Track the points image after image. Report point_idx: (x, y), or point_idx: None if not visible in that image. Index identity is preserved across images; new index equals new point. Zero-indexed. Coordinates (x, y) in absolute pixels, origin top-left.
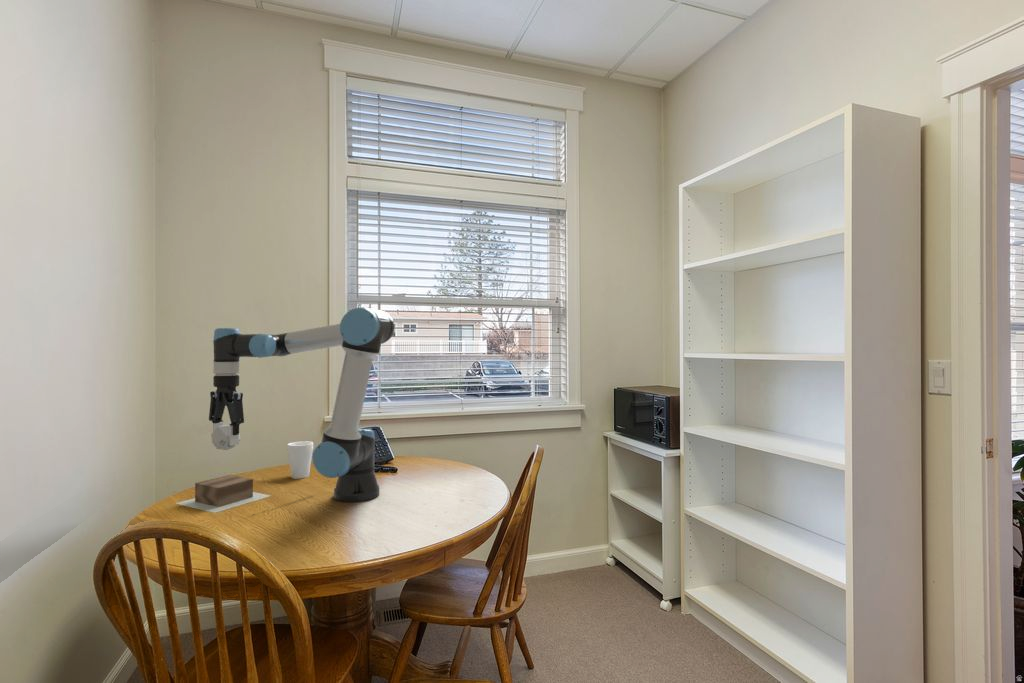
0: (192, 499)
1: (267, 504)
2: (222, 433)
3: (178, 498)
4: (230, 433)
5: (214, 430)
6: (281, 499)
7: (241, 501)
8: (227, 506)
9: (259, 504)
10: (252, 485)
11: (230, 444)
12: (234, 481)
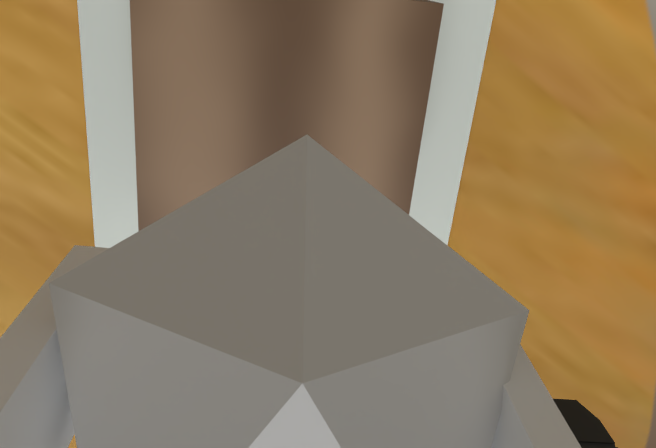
0: (473, 26)
1: (17, 177)
2: (145, 298)
3: (625, 52)
4: (1, 358)
5: (528, 399)
6: (39, 271)
7: None
8: (122, 5)
9: (58, 159)
10: None
11: (75, 252)
12: (201, 163)
